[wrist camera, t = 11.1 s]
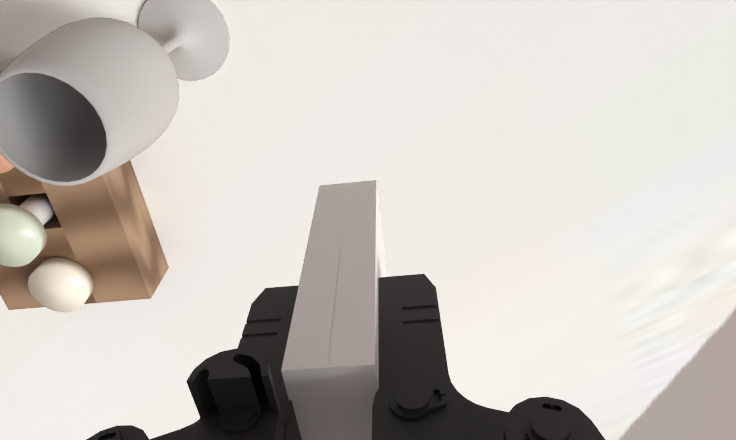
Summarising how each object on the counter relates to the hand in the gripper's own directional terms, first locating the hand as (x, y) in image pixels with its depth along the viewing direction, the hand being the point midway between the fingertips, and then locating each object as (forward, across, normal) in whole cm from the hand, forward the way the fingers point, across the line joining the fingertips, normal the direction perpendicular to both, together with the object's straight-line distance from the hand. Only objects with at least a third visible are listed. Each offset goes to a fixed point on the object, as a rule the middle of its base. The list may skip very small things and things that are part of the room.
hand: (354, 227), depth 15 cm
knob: (+32, -30, -19) cm, 48 cm away
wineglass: (+33, -15, 0) cm, 36 cm away
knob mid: (+29, -30, -12) cm, 44 cm away
